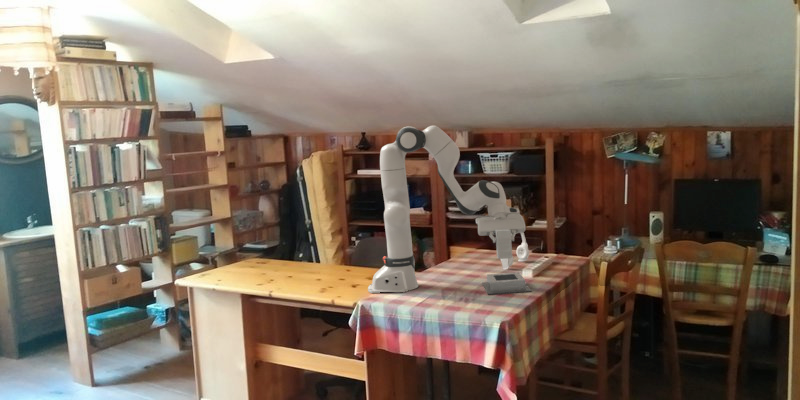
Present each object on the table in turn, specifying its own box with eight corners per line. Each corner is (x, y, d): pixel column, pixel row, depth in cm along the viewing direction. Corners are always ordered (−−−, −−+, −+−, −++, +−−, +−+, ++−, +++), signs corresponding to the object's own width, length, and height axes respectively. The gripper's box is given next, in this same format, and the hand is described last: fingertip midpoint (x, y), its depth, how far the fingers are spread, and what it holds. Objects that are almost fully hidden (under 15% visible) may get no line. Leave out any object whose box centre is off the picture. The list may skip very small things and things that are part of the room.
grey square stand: (488, 295, 266) (487, 284, 266) (482, 284, 284) (481, 273, 284) (531, 291, 266) (531, 281, 266) (522, 281, 284) (522, 270, 284)
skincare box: (510, 256, 276) (509, 228, 274) (512, 258, 272) (511, 230, 270) (496, 257, 276) (495, 229, 274) (498, 259, 272) (496, 231, 270)
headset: (510, 271, 303) (508, 233, 301) (497, 269, 308) (495, 233, 306) (531, 262, 318) (530, 226, 316) (519, 261, 323) (517, 225, 321)
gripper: (475, 212, 278) (479, 238, 270) (522, 208, 278) (528, 235, 270) (474, 220, 283) (478, 247, 275) (521, 217, 283) (526, 243, 275)
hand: (503, 241), depth 272 cm, fingers closed on skincare box, 6 cm apart
